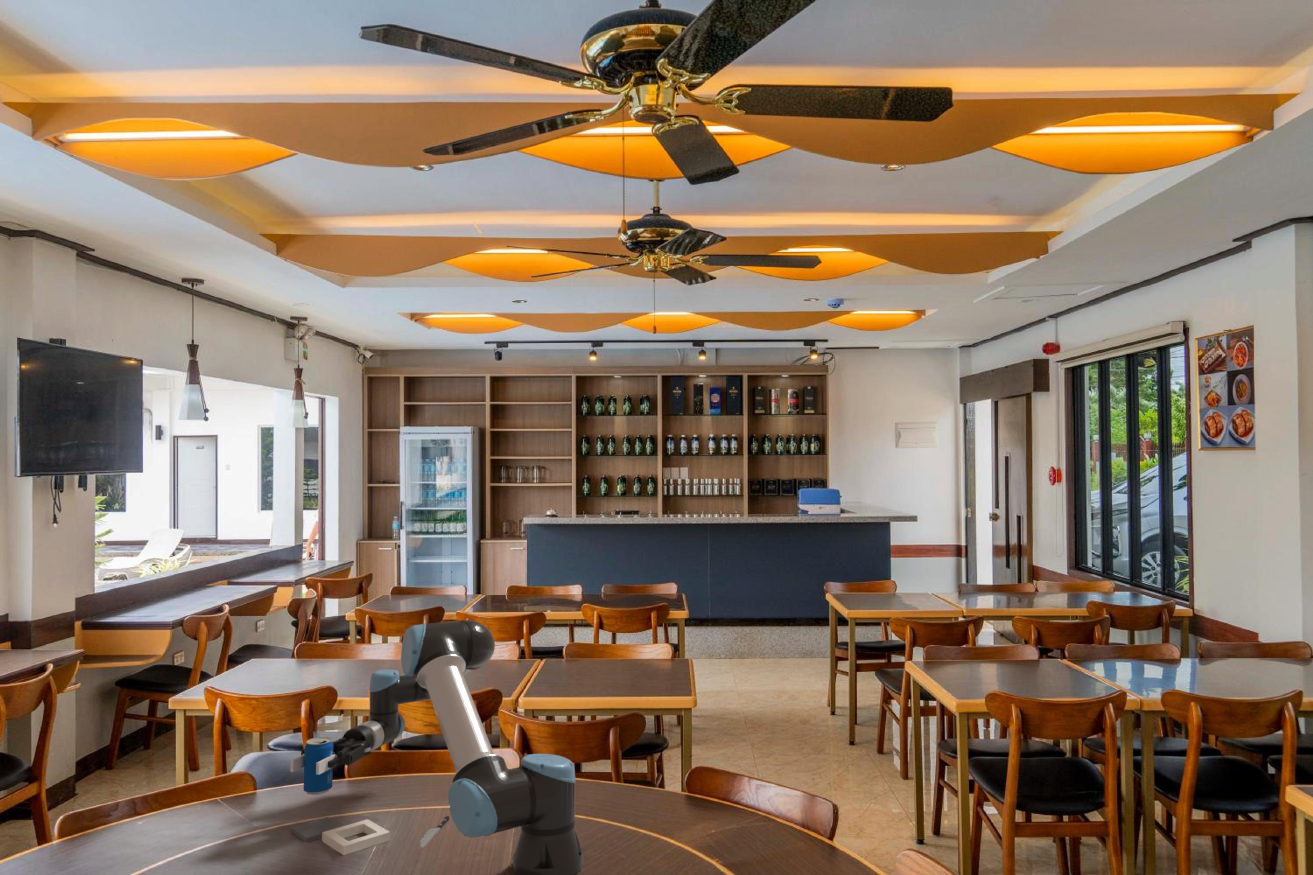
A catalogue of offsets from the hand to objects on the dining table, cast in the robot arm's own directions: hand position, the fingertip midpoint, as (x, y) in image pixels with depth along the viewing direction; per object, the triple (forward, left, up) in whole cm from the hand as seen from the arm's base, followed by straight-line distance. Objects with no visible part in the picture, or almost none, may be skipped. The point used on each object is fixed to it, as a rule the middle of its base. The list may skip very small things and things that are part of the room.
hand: (304, 767), depth 200 cm
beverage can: (+3, -4, -7) cm, 9 cm away
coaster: (+2, -4, -17) cm, 17 cm away
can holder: (-10, -8, -17) cm, 21 cm away
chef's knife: (-18, -23, -17) cm, 34 cm away
